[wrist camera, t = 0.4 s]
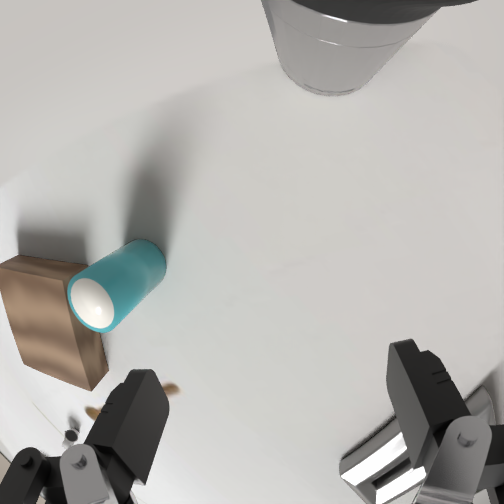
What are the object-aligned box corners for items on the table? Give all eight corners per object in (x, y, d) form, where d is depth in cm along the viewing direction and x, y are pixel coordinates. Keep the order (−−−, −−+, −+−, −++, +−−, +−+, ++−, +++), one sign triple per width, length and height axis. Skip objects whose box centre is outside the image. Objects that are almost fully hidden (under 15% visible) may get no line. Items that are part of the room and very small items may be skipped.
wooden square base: (18, 254, 36) (-6, 266, 32) (87, 265, 35) (62, 280, 30) (41, 348, 42) (23, 364, 37) (108, 370, 40) (91, 391, 35)
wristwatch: (83, 431, 47) (71, 447, 43) (80, 439, 49) (69, 455, 44) (71, 422, 47) (59, 438, 43) (69, 431, 49) (57, 446, 44)
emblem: (466, 498, 34) (325, 519, 38) (460, 479, 39) (326, 496, 43) (539, 395, 25) (360, 424, 30) (524, 373, 30) (355, 393, 35)
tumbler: (120, 237, 33) (62, 269, 23) (164, 241, 32) (113, 277, 23) (124, 283, 34) (73, 326, 25) (167, 289, 34) (123, 338, 24)
